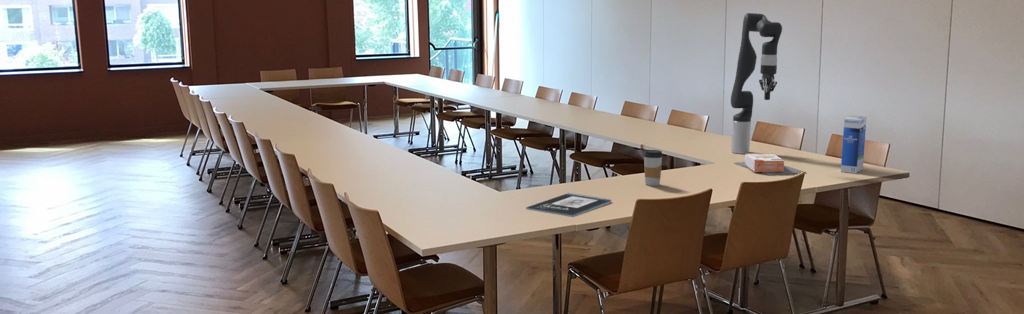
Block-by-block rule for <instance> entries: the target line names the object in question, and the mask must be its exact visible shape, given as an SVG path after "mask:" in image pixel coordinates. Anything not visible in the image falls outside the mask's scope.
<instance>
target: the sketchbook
mask: <svg viewBox="0 0 1024 314" xmlns="http://www.w3.org/2000/svg"><path fill="white" fill-rule="evenodd" d="M609 204H612V199H611V198H605V197H597V196H592V195H585V194H580V193H579V194H578V193H571V192H567V193H564V194H561V195H558V196H555V197H553V198H549V199H547V200H543V201H541V202H538V203H534V204H532V205H529V206H526V210H530V211H537V212H543V213H548V214H549V213H550V214H555V215H561V216H565V217H575V216H578V215H581V214H584V213H587V212H589V211H592V210H594V209H595V210H596V209H598V208H601V207H603V206H604V207H605V206H606V205H609Z"/></svg>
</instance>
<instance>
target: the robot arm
mask: <svg viewBox="0 0 1024 314" xmlns="http://www.w3.org/2000/svg"><path fill="white" fill-rule="evenodd" d="M750 32H754V33H755V32H756V33H757V32H758V33H759V35H760V37H761V38H772V39H771V40H770V41H769V40H768V41H765V42H763V43H762V46H761V57H760V71H759V73H760V74H761V78H760V79H758V82H759V85H760V87H761V90H762V91H763V92H764V95H763V98H764V100H765V101H770V99H771V93H772V92H774V90H775V88H776V86H777V84H778V82H777V81H776V80H775V75H777V70H778V69H777V68H778V56H777V55H778V45H779V41H780V38H781V35H782V32H783V26H782V24H781V23H780V22H777V21H775V22H774V21H773V22H772V21H770V20H769V19H768V18H767V16H766V15H764V14H763V13H756V12H755V13H754V12H753V13H751V12H747V13H745V14H744V16H743V21H742V31H741V39H740V41H741V42H740V47H739V53H738V58H737V64H736V65H737V66H736V73H735V79H734V83H733V88H732V91H731V95H730V105H731V108H733V109H741V111H740V112H738V113H736V114H734V115H733V117H732V134H731V150H730V151H731V152H732V153H733V154H741V155H742V154H743V155H745V154H750V149H751V147H750V146H751V145H750V144H751V124H752V123H751V122H752V115H753V109H754V107H753V106H754V94H753V93H752V91H750V90H743V87H744V85H745V83H747V80H748V79H749V78H750V76H751V75H752V74H753V73H754V71H755V69H756V65H757V53H756V51H755V48H754V47H753V45H752V42H751V38H750Z"/></svg>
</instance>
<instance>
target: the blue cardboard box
mask: <svg viewBox="0 0 1024 314" xmlns="http://www.w3.org/2000/svg"><path fill="white" fill-rule="evenodd" d="M843 120H844V121H843V133H842V147H841V148H842V149H841V161H840V162H841V163H840V164H841V165H840V172H841V173H847V172H848V173H849V174H858V173H859V172H861V171H862V170H863V169H864V159H865V158H864V156H865V145H866V144H865V143H866V129H867V116H862V115H849V116H848V117H845V118H843ZM857 172H858V173H857Z"/></svg>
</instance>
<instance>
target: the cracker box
mask: <svg viewBox="0 0 1024 314" xmlns="http://www.w3.org/2000/svg"><path fill="white" fill-rule="evenodd" d="M744 162H745V165H746V166H747V167H749V168H750V169H749V170H751V171H753V173H760V172H784V165H785V160H784V159H783V158H781V157H779V156H778V155H776V154H775V153H772V152H771V153H766V152H765V153H755V152H753V153H746V154H744Z"/></svg>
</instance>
